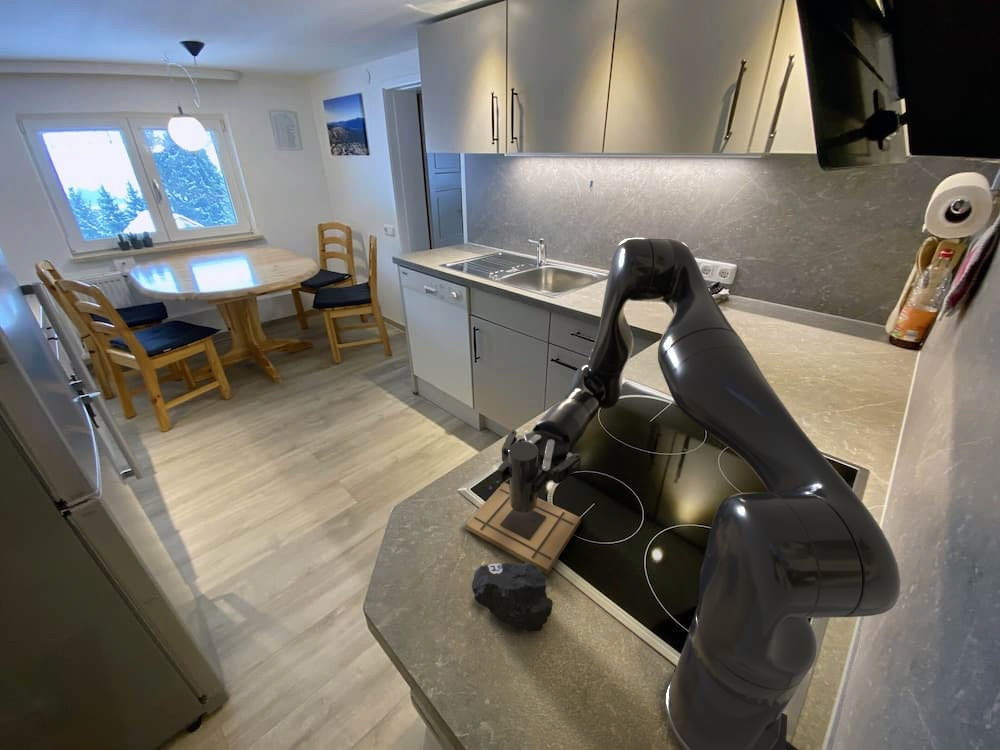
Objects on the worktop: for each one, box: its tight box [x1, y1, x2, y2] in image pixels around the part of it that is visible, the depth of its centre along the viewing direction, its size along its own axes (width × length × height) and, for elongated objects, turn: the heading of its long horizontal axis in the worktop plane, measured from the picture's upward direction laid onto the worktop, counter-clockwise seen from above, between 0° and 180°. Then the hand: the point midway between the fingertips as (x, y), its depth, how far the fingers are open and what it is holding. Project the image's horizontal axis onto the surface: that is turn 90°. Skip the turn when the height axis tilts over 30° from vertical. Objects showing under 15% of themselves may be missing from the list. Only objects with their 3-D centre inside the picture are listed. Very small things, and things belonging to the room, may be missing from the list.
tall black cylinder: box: [508, 441, 539, 513], centre depth 66 cm, size 5×5×11 cm
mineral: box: [471, 562, 554, 634], centre depth 58 cm, size 10×9×6 cm
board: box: [464, 481, 582, 575], centre depth 71 cm, size 16×12×1 cm
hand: (514, 483), depth 64 cm, fingers closed on tall black cylinder, 4 cm apart
